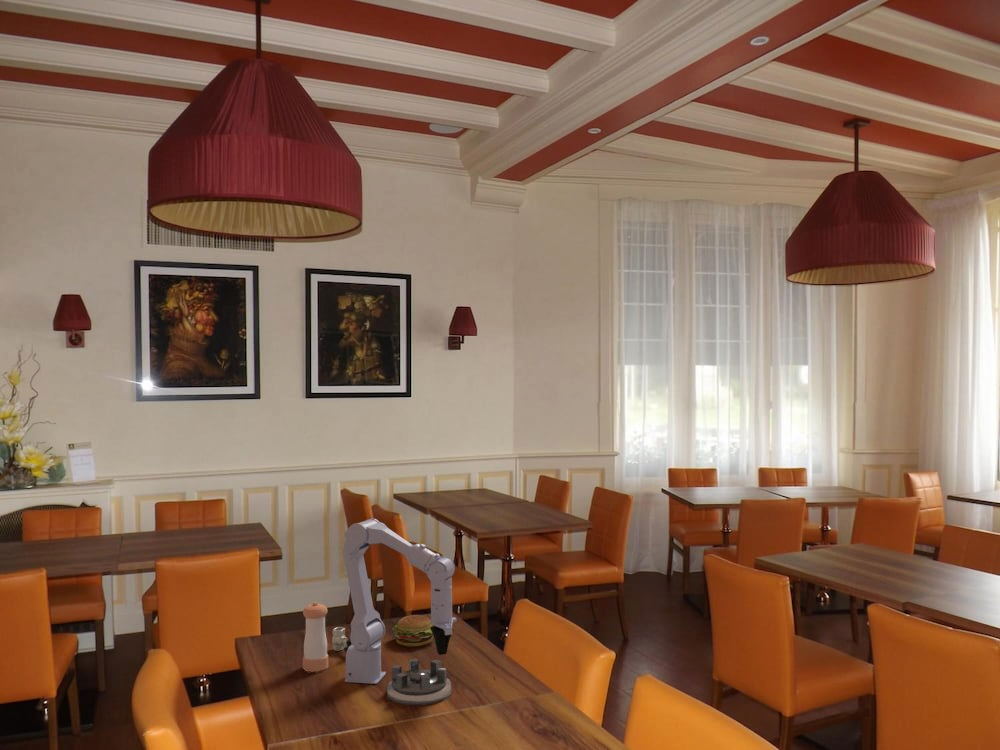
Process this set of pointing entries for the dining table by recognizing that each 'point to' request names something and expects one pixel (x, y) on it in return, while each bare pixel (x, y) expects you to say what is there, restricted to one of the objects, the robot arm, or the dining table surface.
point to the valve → (340, 639)
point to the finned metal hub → (419, 678)
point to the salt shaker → (315, 638)
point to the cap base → (418, 696)
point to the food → (413, 631)
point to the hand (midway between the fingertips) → (441, 653)
